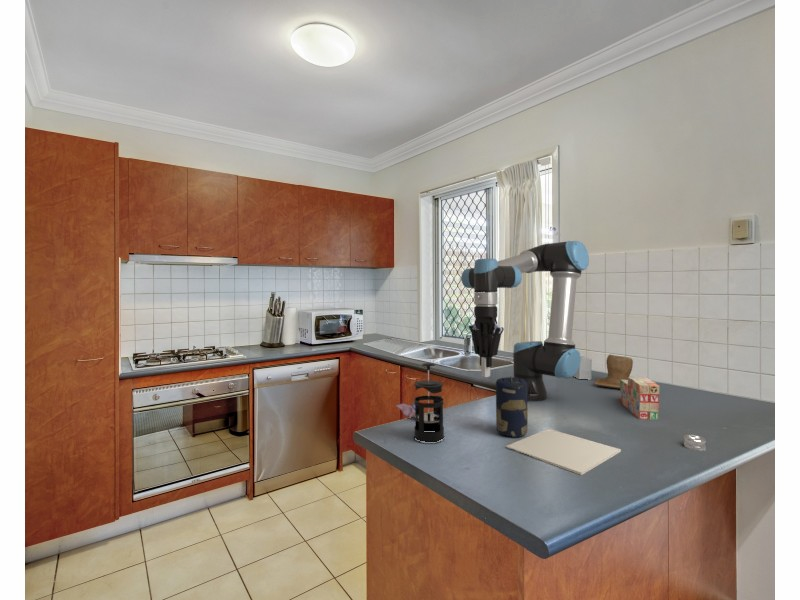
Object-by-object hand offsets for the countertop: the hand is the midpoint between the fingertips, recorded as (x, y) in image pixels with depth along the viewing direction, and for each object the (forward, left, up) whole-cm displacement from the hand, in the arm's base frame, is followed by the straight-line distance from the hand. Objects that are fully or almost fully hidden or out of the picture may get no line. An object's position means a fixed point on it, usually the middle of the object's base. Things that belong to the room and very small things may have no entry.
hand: (485, 376), depth 133 cm
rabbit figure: (-23, -13, -17) cm, 31 cm away
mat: (+27, 0, -17) cm, 32 cm away
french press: (-4, -22, -17) cm, 28 cm away
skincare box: (-15, +93, -17) cm, 96 cm away
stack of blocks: (+26, +55, -17) cm, 63 cm away
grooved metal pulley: (+50, +30, -17) cm, 61 cm away
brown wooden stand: (+5, +85, -17) cm, 87 cm away
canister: (+10, 0, -17) cm, 19 cm away
